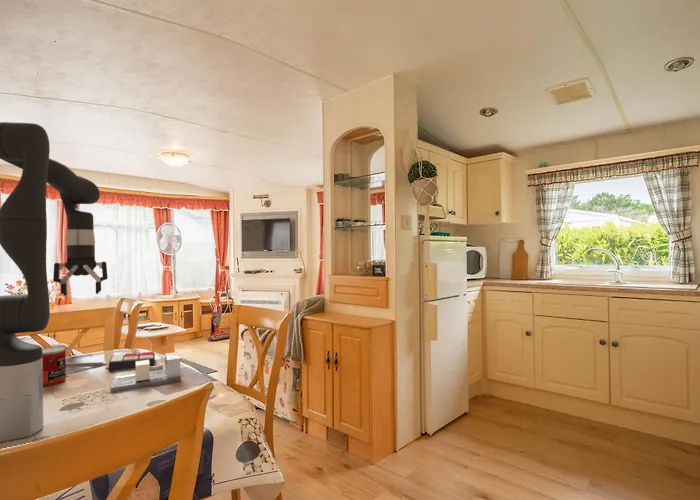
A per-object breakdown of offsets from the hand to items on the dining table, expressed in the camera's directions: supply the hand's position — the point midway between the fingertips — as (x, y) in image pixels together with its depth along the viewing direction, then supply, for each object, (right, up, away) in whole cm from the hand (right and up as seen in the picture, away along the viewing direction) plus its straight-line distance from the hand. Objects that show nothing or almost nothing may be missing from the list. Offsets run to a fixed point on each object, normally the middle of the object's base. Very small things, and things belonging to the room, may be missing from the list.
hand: (81, 294), depth 126 cm
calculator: (+2, -31, +26) cm, 40 cm away
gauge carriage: (+19, -28, +6) cm, 34 cm away
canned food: (-14, -31, +6) cm, 34 cm away
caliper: (-16, -31, +20) cm, 40 cm away
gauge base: (+18, -30, +5) cm, 35 cm away
